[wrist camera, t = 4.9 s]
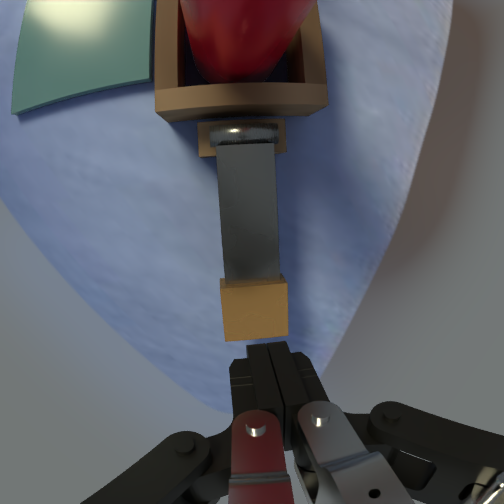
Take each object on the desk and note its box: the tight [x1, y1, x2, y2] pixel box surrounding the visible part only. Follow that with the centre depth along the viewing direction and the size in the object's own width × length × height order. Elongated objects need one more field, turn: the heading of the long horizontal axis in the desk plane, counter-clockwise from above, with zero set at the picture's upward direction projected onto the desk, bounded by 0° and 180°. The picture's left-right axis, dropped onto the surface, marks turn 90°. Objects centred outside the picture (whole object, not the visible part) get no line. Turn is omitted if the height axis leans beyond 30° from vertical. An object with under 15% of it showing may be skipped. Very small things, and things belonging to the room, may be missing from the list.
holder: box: [155, 0, 329, 158], centre depth 16 cm, size 9×12×4 cm
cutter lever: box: [209, 123, 288, 342], centre depth 17 cm, size 12×4×2 cm, turn 3°
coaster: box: [11, 0, 154, 115], centre depth 15 cm, size 11×11×1 cm
